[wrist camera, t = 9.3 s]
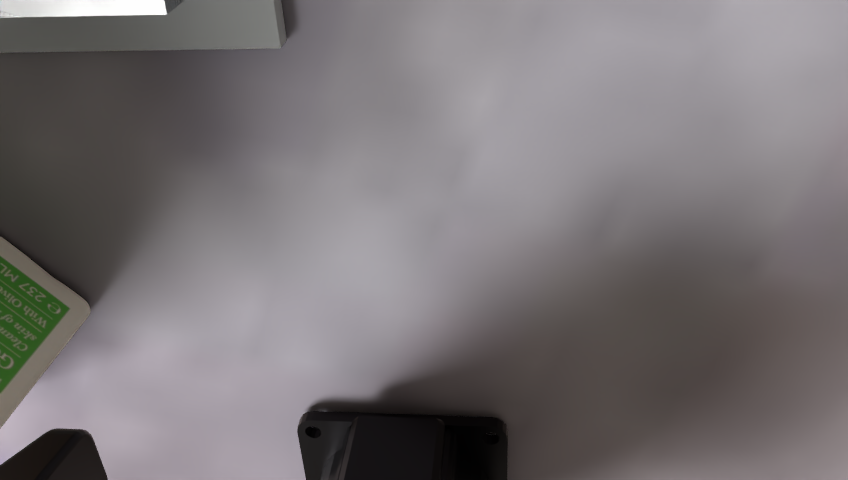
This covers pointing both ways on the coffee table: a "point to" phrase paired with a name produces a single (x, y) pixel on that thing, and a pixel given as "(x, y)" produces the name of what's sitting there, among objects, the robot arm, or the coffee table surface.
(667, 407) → the coffee table surface
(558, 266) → the coffee table surface
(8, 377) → the skincare box
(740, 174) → the coffee table surface
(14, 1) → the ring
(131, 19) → the piston base
